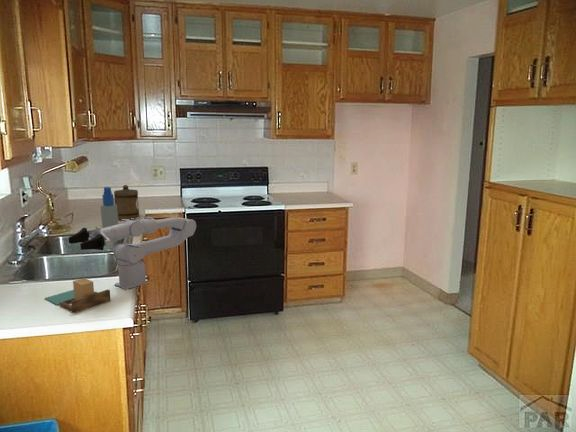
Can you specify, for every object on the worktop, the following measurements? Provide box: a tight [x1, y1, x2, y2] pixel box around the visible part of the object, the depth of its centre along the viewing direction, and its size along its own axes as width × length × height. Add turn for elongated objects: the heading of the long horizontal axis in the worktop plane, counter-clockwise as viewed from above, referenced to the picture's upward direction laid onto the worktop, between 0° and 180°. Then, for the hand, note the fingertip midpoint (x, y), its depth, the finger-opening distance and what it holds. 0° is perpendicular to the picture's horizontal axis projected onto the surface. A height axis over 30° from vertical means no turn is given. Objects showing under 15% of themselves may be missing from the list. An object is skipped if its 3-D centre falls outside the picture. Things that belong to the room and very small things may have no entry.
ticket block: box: [72, 277, 95, 299], centre depth 156 cm, size 4×6×8 cm, turn 52°
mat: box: [44, 289, 75, 306], centre depth 163 cm, size 14×10×1 cm
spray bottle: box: [100, 186, 119, 228], centre depth 264 cm, size 9×9×25 cm
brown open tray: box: [58, 289, 111, 314], centre depth 156 cm, size 13×10×4 cm
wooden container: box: [113, 184, 140, 219], centre depth 295 cm, size 15×15×22 cm
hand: (74, 243), depth 155 cm, fingers open, 7 cm apart
